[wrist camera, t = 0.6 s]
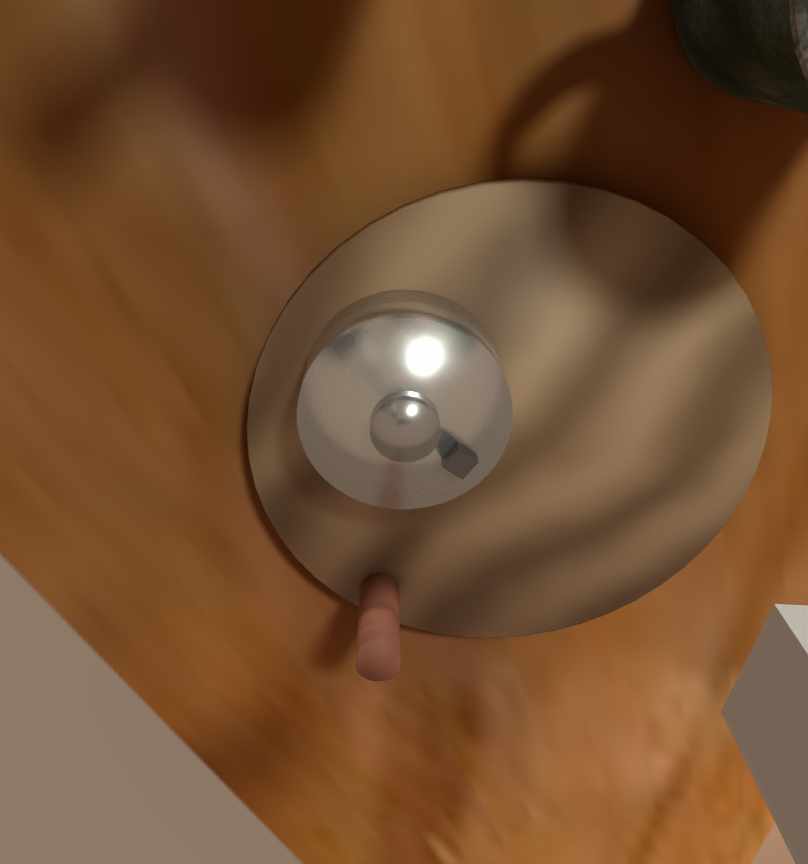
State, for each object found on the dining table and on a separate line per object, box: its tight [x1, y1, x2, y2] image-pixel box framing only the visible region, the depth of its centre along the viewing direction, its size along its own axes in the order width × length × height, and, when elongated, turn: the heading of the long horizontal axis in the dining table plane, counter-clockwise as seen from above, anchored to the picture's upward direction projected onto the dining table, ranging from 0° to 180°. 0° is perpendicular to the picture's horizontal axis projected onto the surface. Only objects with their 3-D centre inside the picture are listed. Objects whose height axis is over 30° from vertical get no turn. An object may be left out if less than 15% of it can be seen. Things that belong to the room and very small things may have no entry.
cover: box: [297, 289, 513, 509], centre depth 34 cm, size 10×10×5 cm
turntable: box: [247, 178, 772, 681], centre depth 37 cm, size 28×28×7 cm
